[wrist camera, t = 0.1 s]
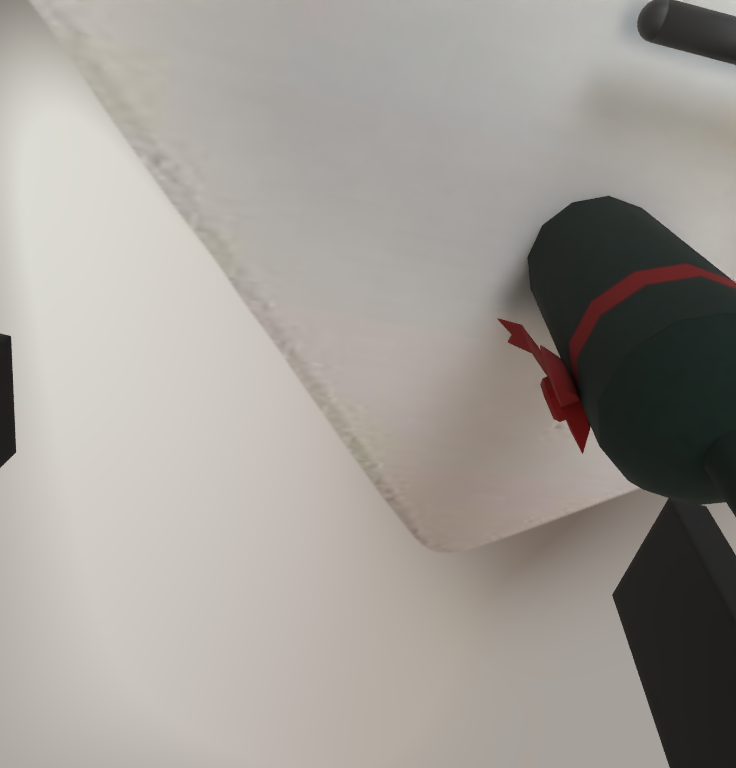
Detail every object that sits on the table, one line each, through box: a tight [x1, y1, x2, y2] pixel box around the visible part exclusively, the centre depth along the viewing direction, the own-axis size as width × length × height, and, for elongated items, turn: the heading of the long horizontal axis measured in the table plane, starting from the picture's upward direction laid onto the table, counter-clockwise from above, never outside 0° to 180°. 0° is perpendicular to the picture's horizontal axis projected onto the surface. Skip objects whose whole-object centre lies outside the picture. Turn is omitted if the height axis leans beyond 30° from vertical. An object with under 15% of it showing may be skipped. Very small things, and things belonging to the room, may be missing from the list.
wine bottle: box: [497, 196, 736, 517], centre depth 25 cm, size 8×10×30 cm
